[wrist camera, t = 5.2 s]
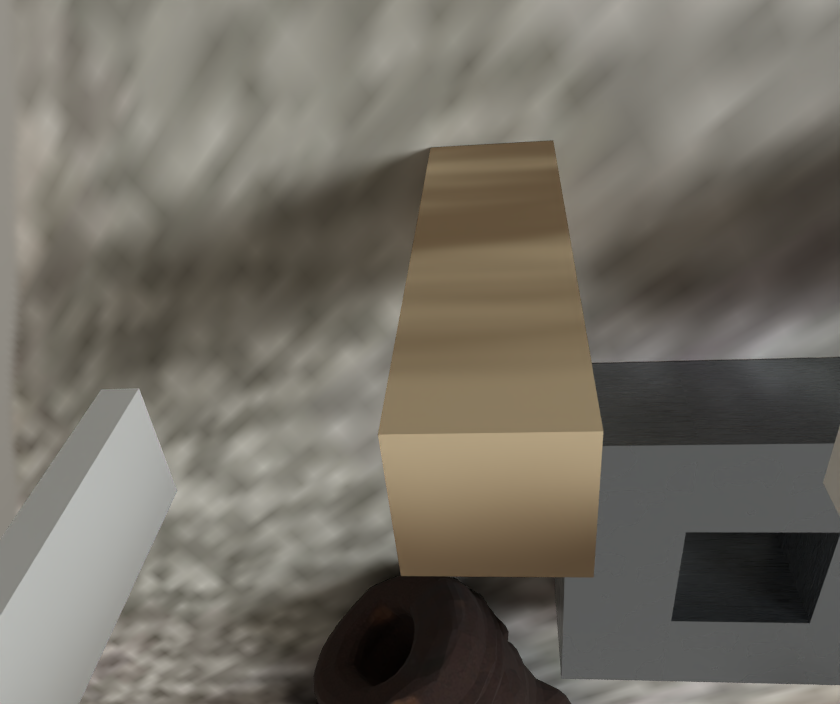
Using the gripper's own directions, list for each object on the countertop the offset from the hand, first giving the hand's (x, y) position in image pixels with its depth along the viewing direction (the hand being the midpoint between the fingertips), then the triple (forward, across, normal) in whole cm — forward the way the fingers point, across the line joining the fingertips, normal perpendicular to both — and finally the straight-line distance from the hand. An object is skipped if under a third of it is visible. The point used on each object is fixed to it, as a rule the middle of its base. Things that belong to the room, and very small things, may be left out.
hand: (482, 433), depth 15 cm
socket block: (+10, +8, -12) cm, 17 cm away
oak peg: (+10, 0, 0) cm, 10 cm away
